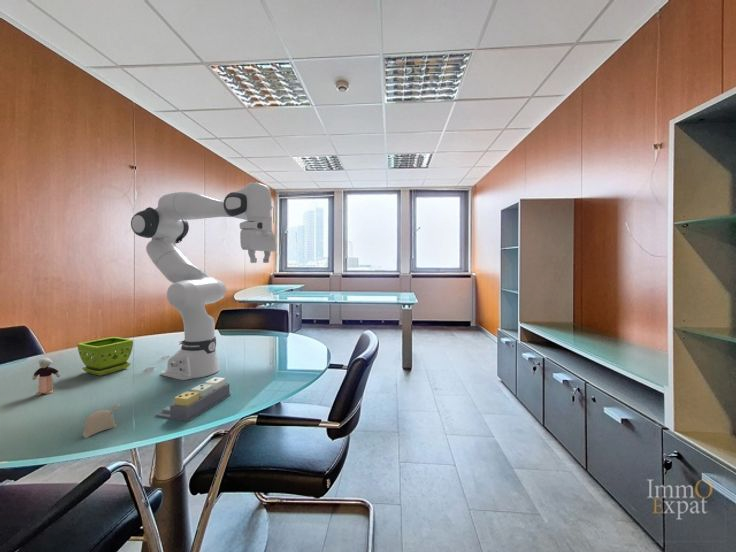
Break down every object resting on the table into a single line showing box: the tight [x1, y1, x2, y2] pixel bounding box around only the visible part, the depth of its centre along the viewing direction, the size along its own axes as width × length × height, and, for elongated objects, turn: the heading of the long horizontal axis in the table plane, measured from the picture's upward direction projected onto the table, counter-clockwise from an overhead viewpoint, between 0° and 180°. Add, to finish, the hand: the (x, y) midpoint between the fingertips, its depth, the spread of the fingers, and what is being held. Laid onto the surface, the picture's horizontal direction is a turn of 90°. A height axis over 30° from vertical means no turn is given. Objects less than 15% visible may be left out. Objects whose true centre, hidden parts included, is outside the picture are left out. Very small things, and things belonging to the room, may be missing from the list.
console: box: [154, 382, 232, 422], centre depth 98 cm, size 12×18×4 cm, turn 166°
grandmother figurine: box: [31, 357, 61, 396], centre depth 107 cm, size 8×4×13 cm, turn 117°
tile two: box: [190, 383, 213, 398], centre depth 97 cm, size 4×4×4 cm
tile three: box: [174, 391, 199, 407], centre depth 91 cm, size 4×4×4 cm
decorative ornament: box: [82, 403, 120, 439], centre depth 84 cm, size 4×8×5 cm, turn 146°
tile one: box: [204, 376, 227, 390], centre depth 103 cm, size 4×4×4 cm
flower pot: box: [77, 336, 134, 376], centre depth 129 cm, size 14×14×13 cm
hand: (260, 262), depth 116 cm, fingers open, 8 cm apart
